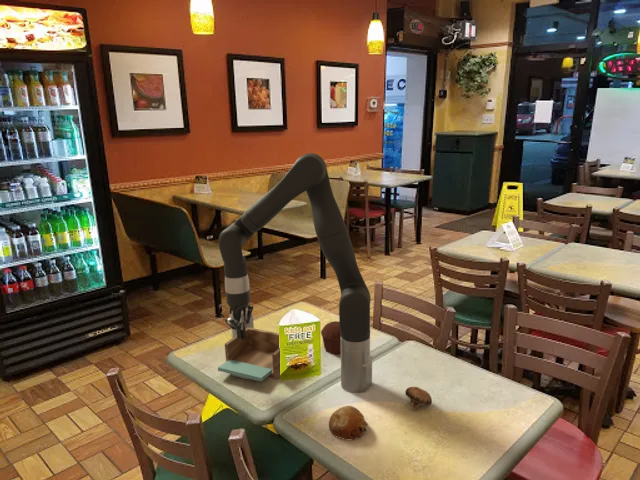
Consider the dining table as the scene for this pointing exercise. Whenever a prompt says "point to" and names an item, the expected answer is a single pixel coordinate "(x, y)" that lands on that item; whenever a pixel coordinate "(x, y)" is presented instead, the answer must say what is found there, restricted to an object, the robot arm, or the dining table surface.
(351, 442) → the dining table surface
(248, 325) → the cup
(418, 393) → the mushroom
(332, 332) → the muffin
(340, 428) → the bread roll
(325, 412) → the dining table surface
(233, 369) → the panel
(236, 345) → the box
